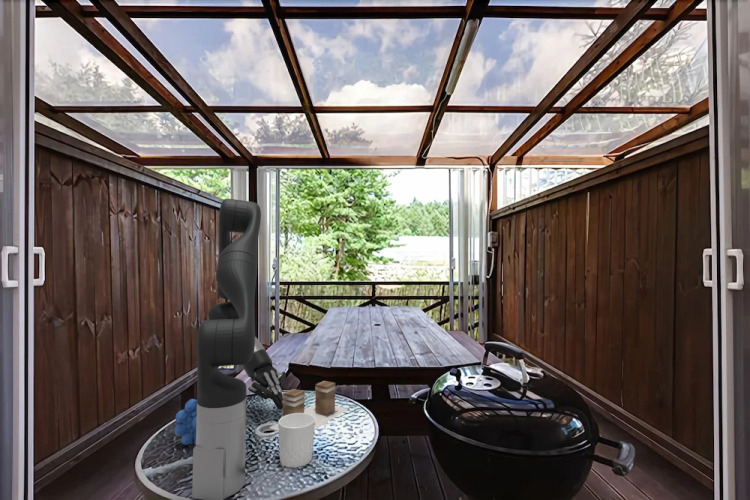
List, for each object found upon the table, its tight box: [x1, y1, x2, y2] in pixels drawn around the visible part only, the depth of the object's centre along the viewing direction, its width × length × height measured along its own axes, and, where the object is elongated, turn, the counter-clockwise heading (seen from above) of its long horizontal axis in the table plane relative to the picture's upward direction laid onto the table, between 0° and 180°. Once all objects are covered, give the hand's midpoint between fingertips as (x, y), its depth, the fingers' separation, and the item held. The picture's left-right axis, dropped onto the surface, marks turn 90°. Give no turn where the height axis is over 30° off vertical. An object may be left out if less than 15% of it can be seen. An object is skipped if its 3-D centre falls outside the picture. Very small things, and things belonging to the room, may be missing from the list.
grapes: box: [173, 398, 197, 446], centre depth 92 cm, size 12×7×12 cm, turn 95°
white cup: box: [278, 413, 315, 468], centre depth 82 cm, size 8×8×10 cm
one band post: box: [314, 380, 337, 416], centre depth 108 cm, size 4×4×8 cm
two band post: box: [282, 388, 306, 417], centre depth 100 cm, size 4×4×8 cm
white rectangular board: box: [269, 403, 349, 432], centre depth 104 cm, size 11×21×2 cm, turn 150°
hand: (283, 407), depth 102 cm, fingers closed
